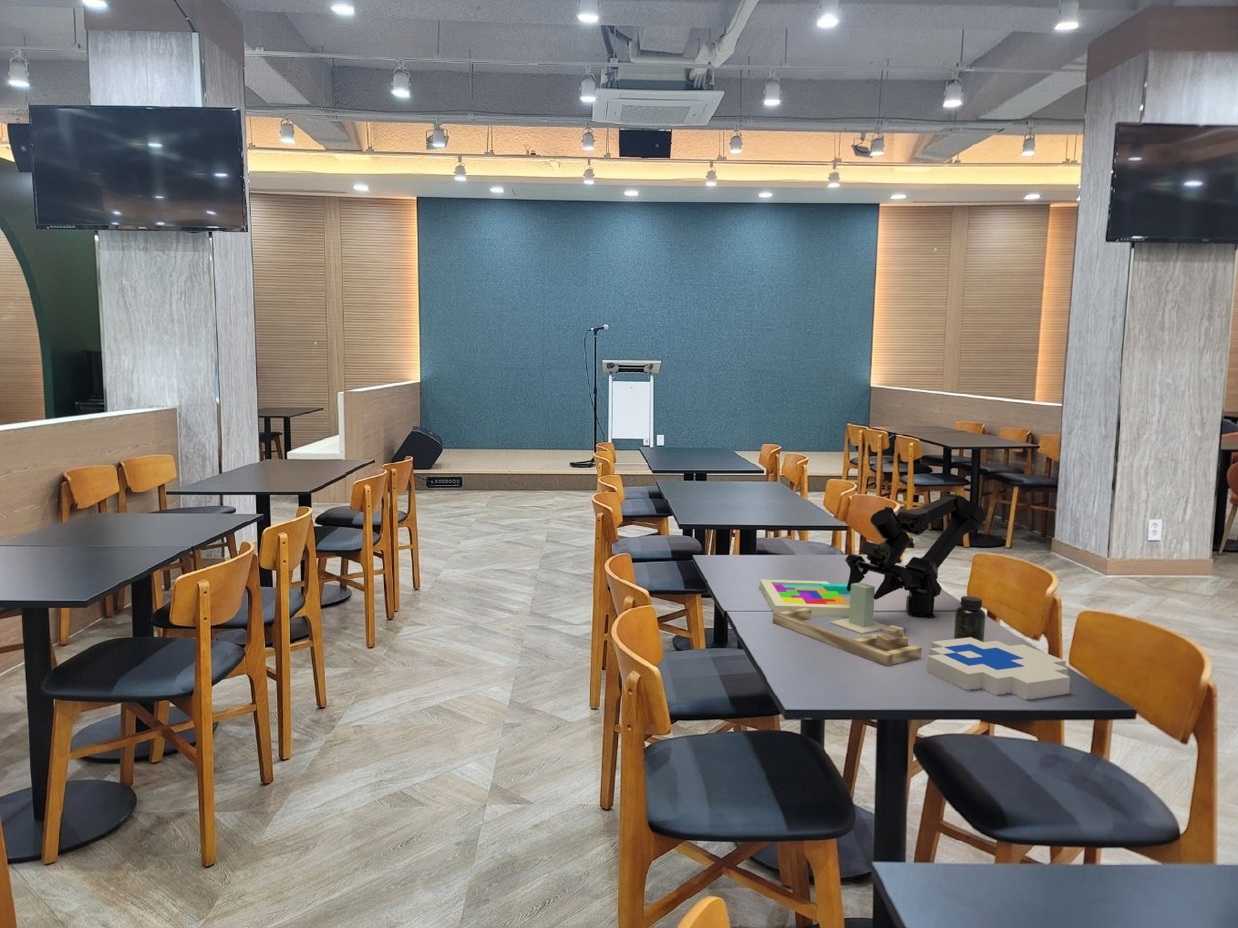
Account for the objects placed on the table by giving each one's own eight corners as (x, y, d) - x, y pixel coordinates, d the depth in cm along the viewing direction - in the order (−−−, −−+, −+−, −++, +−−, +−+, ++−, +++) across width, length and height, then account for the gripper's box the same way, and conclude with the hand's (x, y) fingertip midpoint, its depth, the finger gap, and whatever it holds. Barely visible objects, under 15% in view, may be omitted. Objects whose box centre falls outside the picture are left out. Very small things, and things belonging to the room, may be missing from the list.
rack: (805, 616, 231) (806, 607, 230) (920, 657, 199) (921, 647, 198) (772, 622, 224) (773, 613, 224) (886, 665, 192) (886, 655, 192)
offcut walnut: (894, 649, 206) (895, 639, 206) (910, 656, 202) (911, 645, 201) (873, 653, 203) (874, 643, 202) (889, 660, 198) (890, 649, 198)
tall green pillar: (858, 620, 226) (860, 582, 225) (872, 625, 222) (875, 586, 221) (848, 622, 225) (851, 583, 224) (863, 627, 220) (865, 588, 219)
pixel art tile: (997, 687, 171) (904, 644, 197) (996, 706, 171) (902, 661, 197) (1097, 672, 181) (996, 634, 207) (1096, 690, 181) (995, 650, 207)
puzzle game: (775, 616, 232) (884, 619, 232) (775, 605, 232) (885, 608, 231) (759, 588, 262) (856, 591, 262) (759, 579, 262) (856, 582, 261)
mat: (858, 617, 231) (858, 616, 231) (890, 628, 222) (890, 626, 222) (829, 622, 225) (829, 621, 225) (861, 634, 216) (861, 632, 216)
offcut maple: (891, 633, 204) (892, 625, 204) (903, 636, 202) (903, 628, 202) (882, 636, 201) (882, 628, 201) (893, 639, 199) (894, 631, 199)
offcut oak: (897, 641, 205) (897, 633, 204) (907, 646, 201) (908, 638, 201) (876, 642, 203) (876, 634, 203) (886, 648, 199) (887, 639, 199)
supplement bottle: (973, 641, 213) (976, 594, 212) (989, 649, 206) (992, 601, 205) (948, 641, 212) (951, 594, 210) (963, 650, 205) (966, 602, 204)
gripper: (851, 524, 231) (820, 568, 227) (907, 536, 216) (875, 583, 211) (869, 550, 236) (839, 593, 232) (925, 563, 221) (894, 610, 216)
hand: (860, 594), depth 222 cm, fingers open, 9 cm apart
